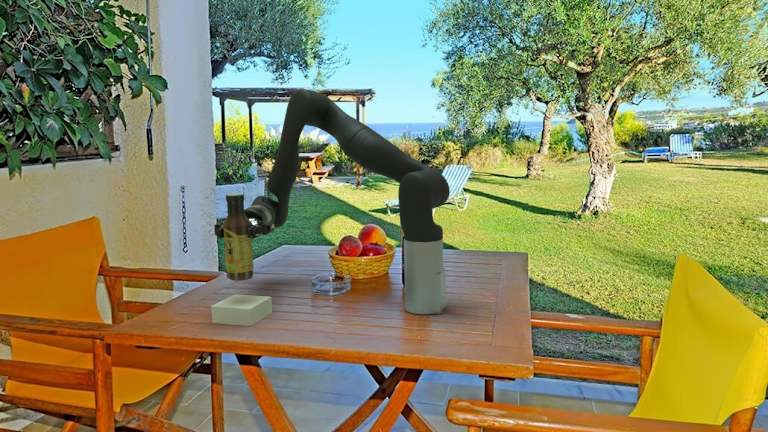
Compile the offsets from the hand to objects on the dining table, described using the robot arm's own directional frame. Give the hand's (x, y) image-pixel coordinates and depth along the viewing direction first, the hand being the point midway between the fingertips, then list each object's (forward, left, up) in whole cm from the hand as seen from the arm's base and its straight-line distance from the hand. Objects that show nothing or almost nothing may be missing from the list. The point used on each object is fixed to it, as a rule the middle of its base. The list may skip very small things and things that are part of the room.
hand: (234, 233), depth 133 cm
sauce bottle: (+1, -2, -11) cm, 11 cm away
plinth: (+1, -2, -21) cm, 21 cm away
